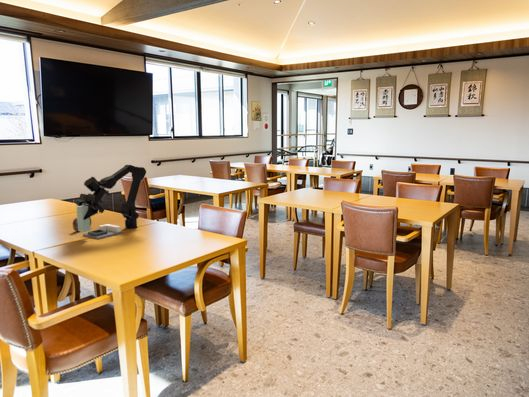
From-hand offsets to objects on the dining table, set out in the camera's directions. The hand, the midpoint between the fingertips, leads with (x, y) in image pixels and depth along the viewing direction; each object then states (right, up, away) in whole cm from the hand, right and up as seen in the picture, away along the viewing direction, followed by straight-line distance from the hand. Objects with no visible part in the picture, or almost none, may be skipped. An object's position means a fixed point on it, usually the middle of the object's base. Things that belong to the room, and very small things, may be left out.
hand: (81, 218), depth 222 cm
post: (+1, -7, +2) cm, 7 cm away
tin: (-10, -8, +24) cm, 28 cm away
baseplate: (+7, -10, +14) cm, 18 cm away
